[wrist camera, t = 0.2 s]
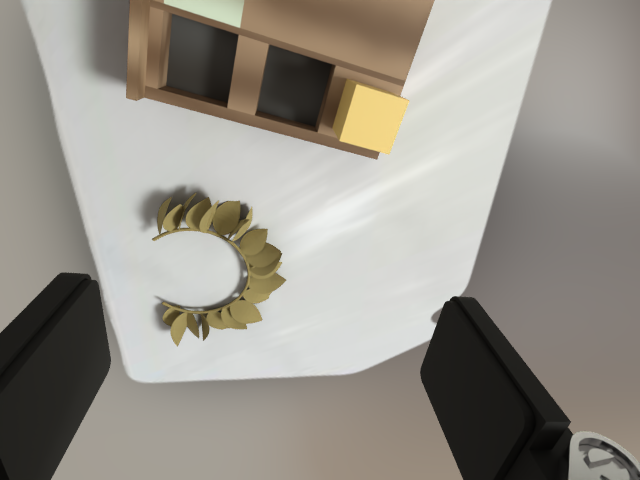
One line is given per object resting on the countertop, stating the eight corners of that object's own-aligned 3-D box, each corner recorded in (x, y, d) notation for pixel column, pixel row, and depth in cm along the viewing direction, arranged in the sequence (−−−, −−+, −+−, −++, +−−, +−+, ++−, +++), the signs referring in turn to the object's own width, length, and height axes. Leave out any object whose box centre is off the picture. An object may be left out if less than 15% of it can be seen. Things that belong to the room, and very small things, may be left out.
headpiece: (170, 326, 50) (280, 325, 52) (163, 349, 46) (281, 348, 49) (150, 182, 38) (292, 191, 41) (139, 200, 35) (294, 208, 38)
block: (346, 78, 32) (356, 84, 28) (392, 92, 33) (409, 100, 29) (332, 128, 34) (339, 140, 30) (376, 140, 35) (389, 154, 31)
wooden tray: (158, -114, 28) (135, -143, 23) (427, -11, 32) (449, -19, 28) (146, 90, 34) (126, 98, 30) (370, 151, 39) (381, 165, 35)
